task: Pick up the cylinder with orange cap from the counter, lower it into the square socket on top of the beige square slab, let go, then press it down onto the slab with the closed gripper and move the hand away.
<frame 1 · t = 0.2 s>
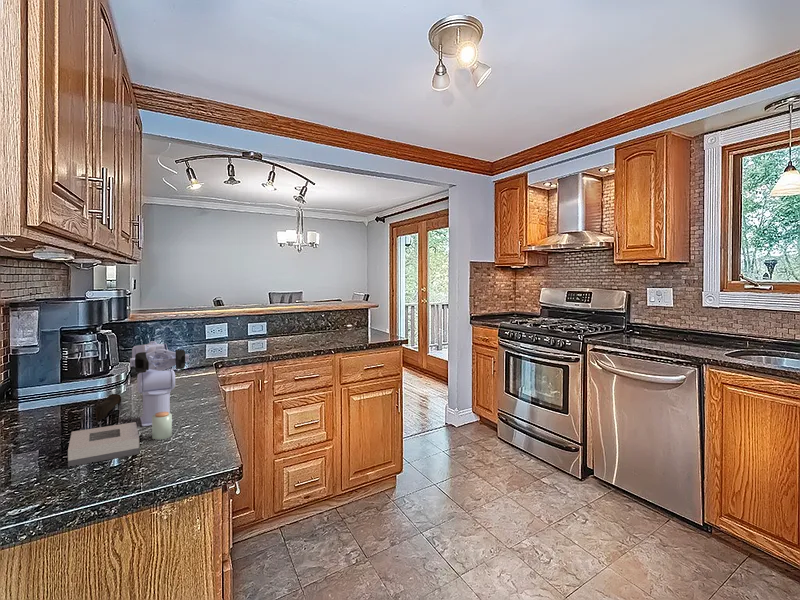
hand: (163, 364, 111), 21 cm above the countertop, tool horizontal, fingers open, 7 cm apart
cylinder with orange cap: (162, 436, 115), on the countertop
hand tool: (108, 413, 135), on the countertop
beige square slab: (105, 450, 105), on the countertop
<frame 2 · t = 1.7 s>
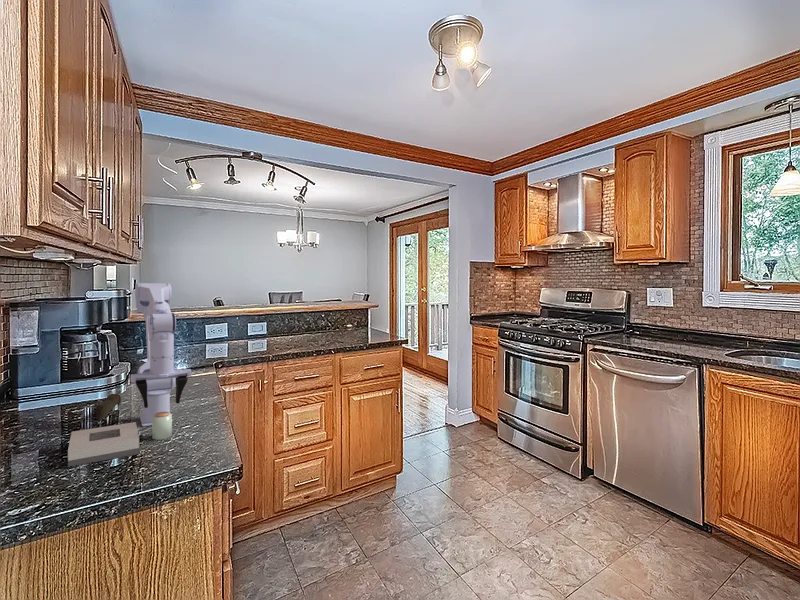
hand: (162, 404, 115), 9 cm above the countertop, tool pointing down, fingers open, 7 cm apart
nothing on the countertop moved.
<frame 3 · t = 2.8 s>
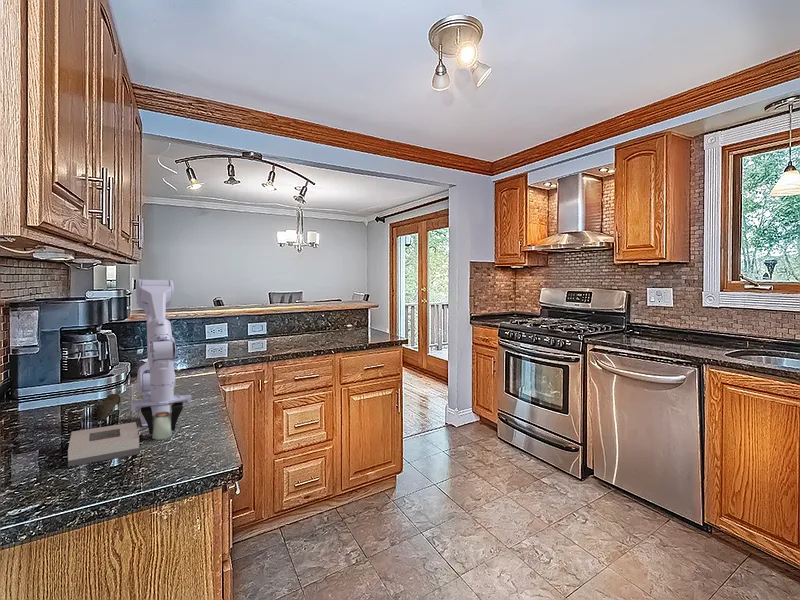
hand: (162, 431, 115), 1 cm above the countertop, tool pointing down, fingers closed on cylinder with orange cap, 5 cm apart
cylinder with orange cap: (162, 436, 115), on the countertop, touching gripper
everything else where it was.
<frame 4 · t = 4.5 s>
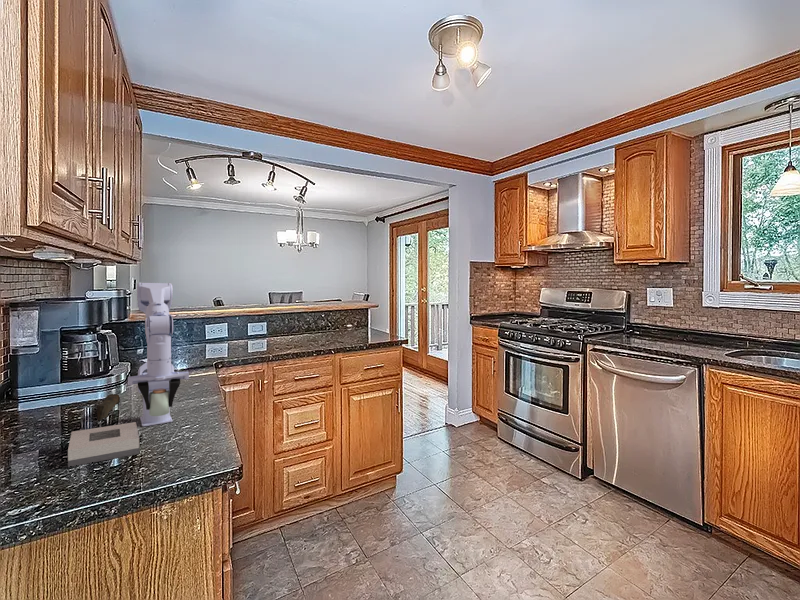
hand: (159, 407, 114), 8 cm above the countertop, tool pointing down, fingers closed on cylinder with orange cap, 5 cm apart
cylinder with orange cap: (159, 413, 114), point 7 cm above the countertop, touching gripper
everything else where it was.
when the fingers open (5 cm above the countertop, at t = 6.4 s): cylinder with orange cap drops 2 cm, resting on beige square slab.
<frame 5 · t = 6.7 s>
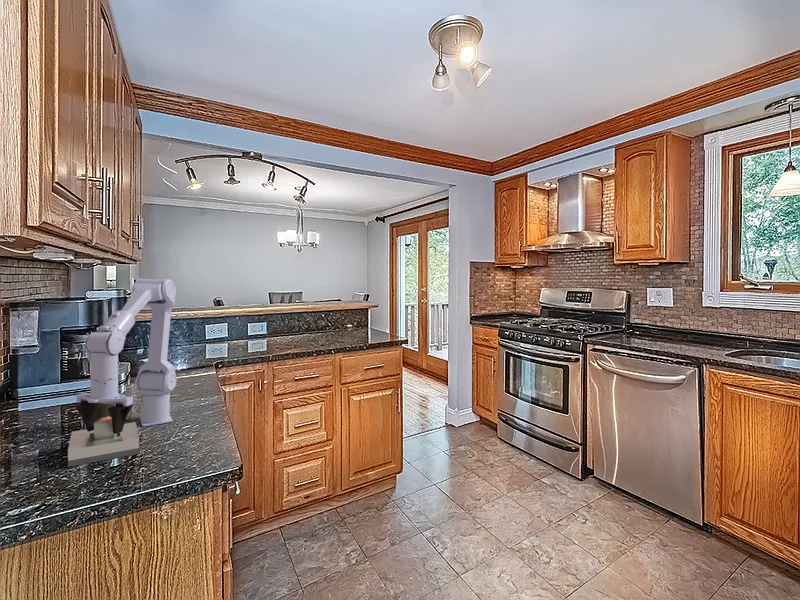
hand: (104, 431, 105), 5 cm above the countertop, tool pointing down, fingers open, 7 cm apart
cylinder with orange cap: (105, 444, 105), point 2 cm above the countertop, touching beige square slab
everything else where it was.
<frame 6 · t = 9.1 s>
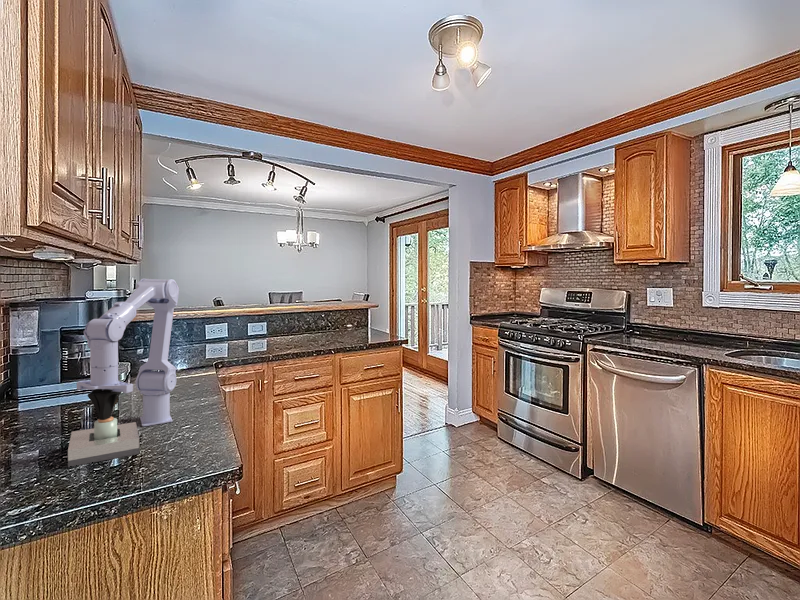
hand: (104, 418, 105), 8 cm above the countertop, tool pointing down, fingers closed
nothing on the countertop moved.
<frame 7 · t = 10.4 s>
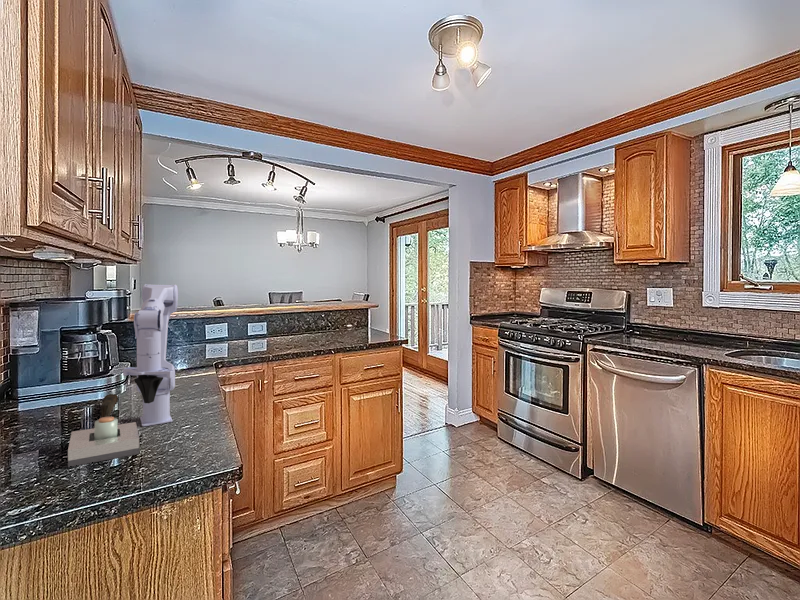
hand: (149, 402, 114), 10 cm above the countertop, tool pointing down, fingers closed
nothing on the countertop moved.
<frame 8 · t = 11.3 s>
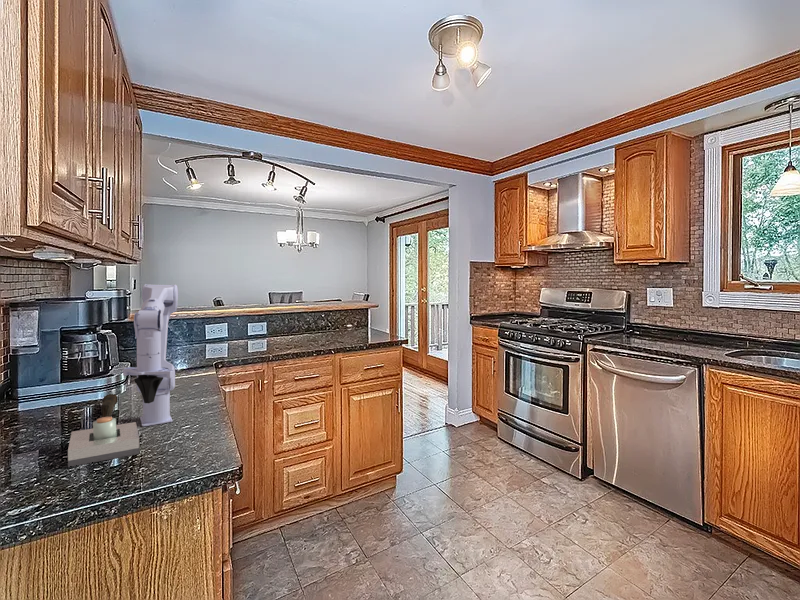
hand: (149, 402, 114), 10 cm above the countertop, tool pointing down, fingers closed
nothing on the countertop moved.
at the end: cylinder with orange cap 0.1 cm off-centre on the beige square slab, point 1.6 cm above the beige square slab's base; cylinder with orange cap tilted 2°; the gripper is holding nothing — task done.
